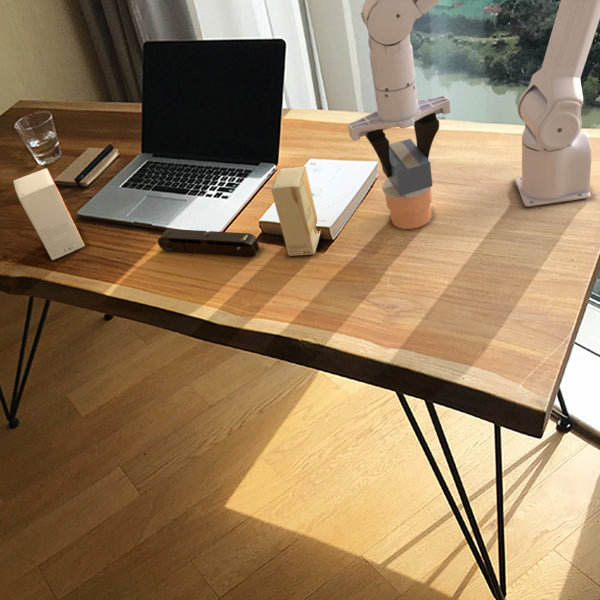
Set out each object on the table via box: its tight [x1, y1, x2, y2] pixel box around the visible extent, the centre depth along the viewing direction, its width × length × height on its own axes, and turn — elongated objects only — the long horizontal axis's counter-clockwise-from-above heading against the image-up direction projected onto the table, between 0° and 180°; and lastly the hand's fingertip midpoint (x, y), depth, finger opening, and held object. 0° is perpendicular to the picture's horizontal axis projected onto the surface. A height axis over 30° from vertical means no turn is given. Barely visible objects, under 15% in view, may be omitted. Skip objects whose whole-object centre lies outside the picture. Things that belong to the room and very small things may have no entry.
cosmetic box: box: [270, 166, 321, 257], centre depth 104 cm, size 6×4×12 cm
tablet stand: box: [157, 228, 260, 257], centre depth 111 cm, size 18×3×3 cm, turn 68°
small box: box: [13, 167, 86, 261], centre depth 119 cm, size 8×6×13 cm
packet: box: [381, 138, 433, 196], centre depth 101 cm, size 8×5×4 cm, turn 12°
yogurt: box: [381, 178, 433, 230], centre depth 105 cm, size 8×8×6 cm
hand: (405, 168), depth 102 cm, fingers closed on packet, 5 cm apart
